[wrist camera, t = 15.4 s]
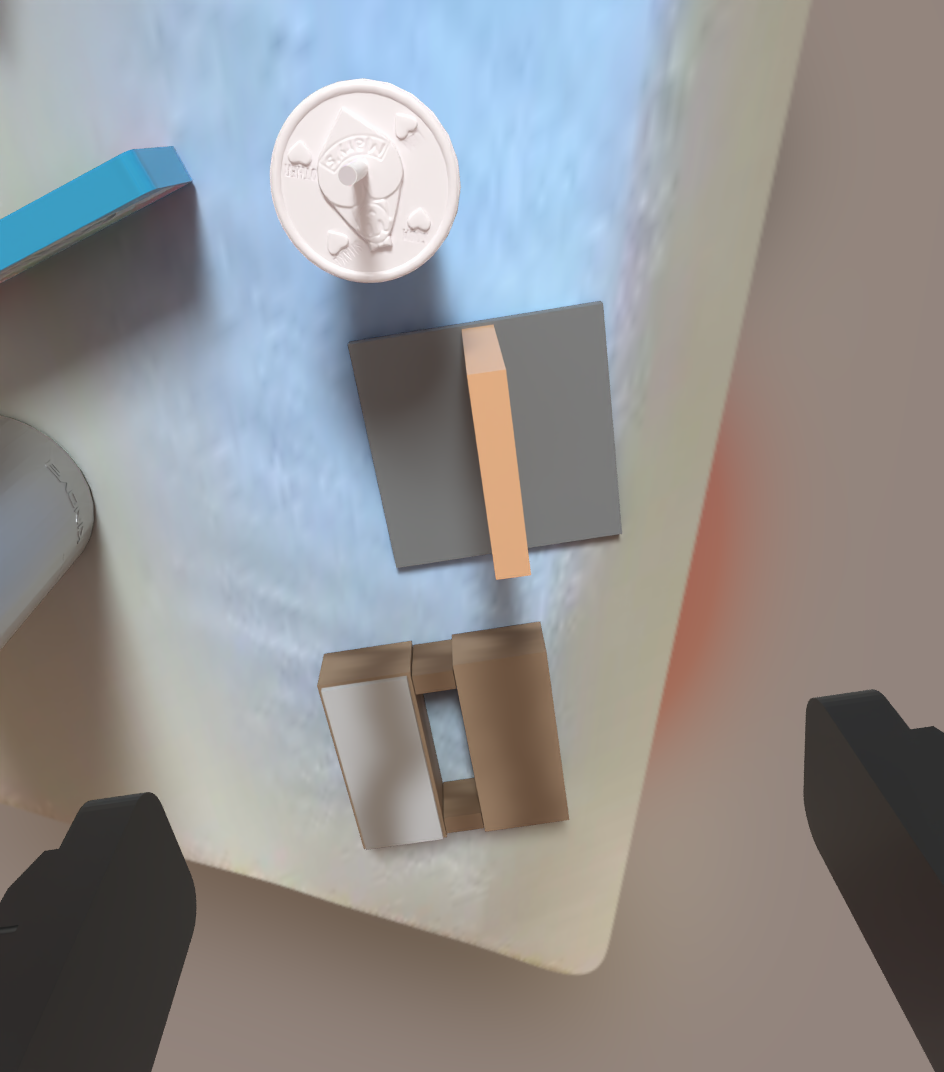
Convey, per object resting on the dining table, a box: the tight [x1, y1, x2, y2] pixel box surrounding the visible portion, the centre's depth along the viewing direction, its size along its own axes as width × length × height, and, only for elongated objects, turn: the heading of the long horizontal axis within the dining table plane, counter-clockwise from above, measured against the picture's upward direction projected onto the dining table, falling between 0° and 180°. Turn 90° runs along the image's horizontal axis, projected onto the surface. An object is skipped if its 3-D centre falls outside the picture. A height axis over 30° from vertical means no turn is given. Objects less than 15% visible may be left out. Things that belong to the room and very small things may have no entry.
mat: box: [348, 301, 622, 568], centre depth 42 cm, size 12×12×1 cm
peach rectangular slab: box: [462, 325, 531, 580], centre depth 38 cm, size 2×8×9 cm
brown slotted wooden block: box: [317, 622, 569, 850], centre depth 48 cm, size 12×12×3 cm
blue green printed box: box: [0, 146, 193, 283], centre depth 34 cm, size 12×2×6 cm, turn 115°
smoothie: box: [270, 78, 461, 283], centre depth 30 cm, size 6×6×14 cm
